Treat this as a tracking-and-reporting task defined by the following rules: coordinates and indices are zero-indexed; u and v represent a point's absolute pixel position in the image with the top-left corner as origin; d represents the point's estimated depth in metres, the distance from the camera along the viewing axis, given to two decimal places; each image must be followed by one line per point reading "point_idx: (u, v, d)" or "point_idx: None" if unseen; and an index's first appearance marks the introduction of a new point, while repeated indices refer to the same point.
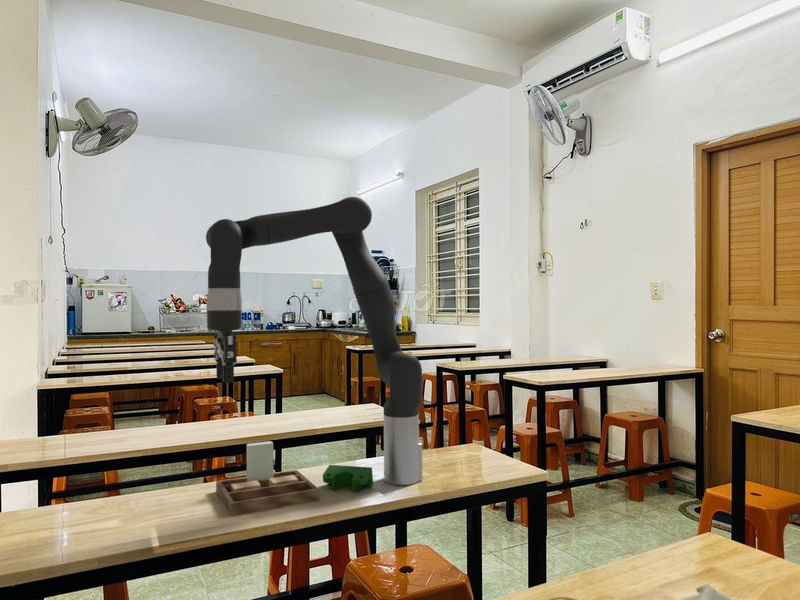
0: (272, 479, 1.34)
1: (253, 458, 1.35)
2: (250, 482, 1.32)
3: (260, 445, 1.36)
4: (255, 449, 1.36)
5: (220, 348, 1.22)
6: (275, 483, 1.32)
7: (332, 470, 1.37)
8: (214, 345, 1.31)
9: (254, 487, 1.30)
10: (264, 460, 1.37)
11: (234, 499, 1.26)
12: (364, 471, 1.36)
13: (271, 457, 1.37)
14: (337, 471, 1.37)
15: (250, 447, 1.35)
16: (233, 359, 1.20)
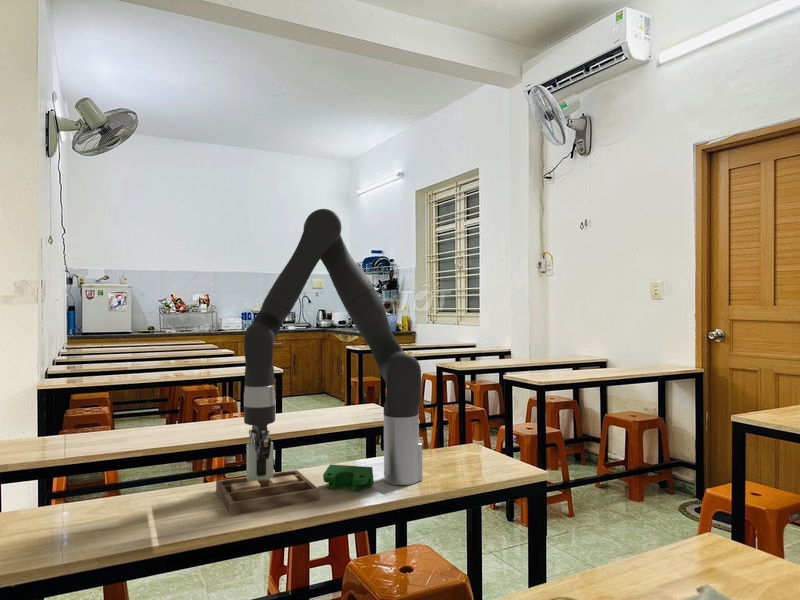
0: (272, 479, 1.34)
1: (253, 458, 1.35)
2: (250, 482, 1.32)
3: None
4: None
5: (255, 444, 1.35)
6: (275, 483, 1.32)
7: (332, 470, 1.38)
8: (250, 440, 1.41)
9: (254, 487, 1.30)
10: None
11: (234, 499, 1.26)
12: (365, 471, 1.36)
13: (271, 457, 1.37)
14: (337, 471, 1.37)
15: (250, 447, 1.35)
16: (266, 456, 1.34)
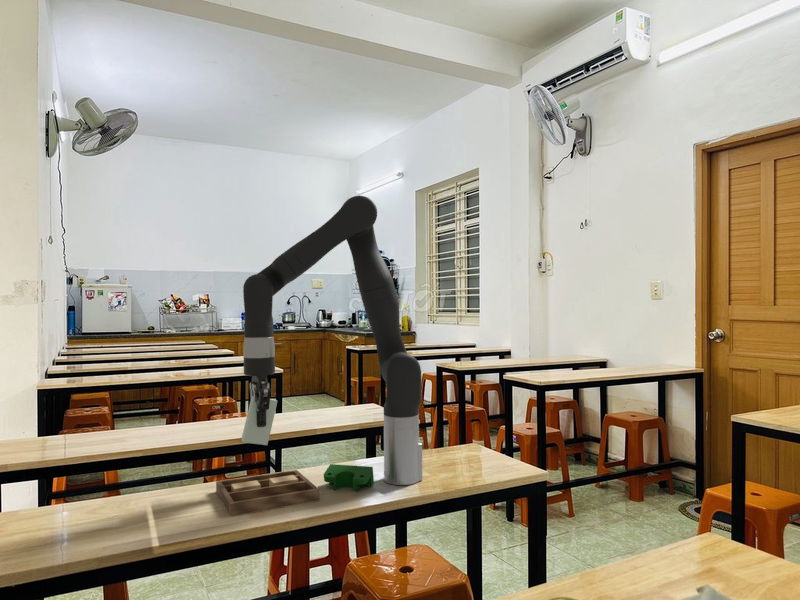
0: (272, 479, 1.34)
1: (255, 410, 1.36)
2: (250, 482, 1.32)
3: None
4: None
5: (255, 395, 1.35)
6: (275, 483, 1.32)
7: (333, 470, 1.38)
8: (250, 394, 1.41)
9: (254, 487, 1.30)
10: None
11: (234, 499, 1.26)
12: (365, 470, 1.37)
13: (272, 414, 1.38)
14: (338, 471, 1.37)
15: None
16: (266, 406, 1.34)
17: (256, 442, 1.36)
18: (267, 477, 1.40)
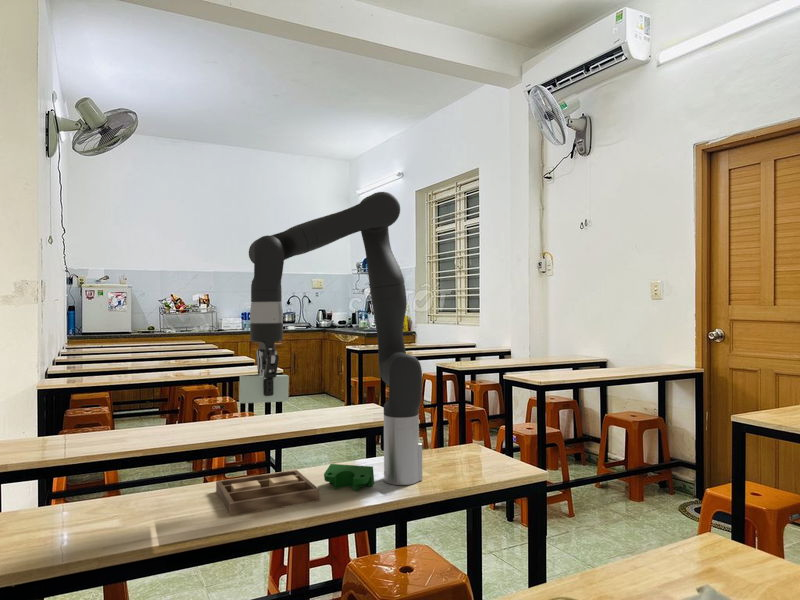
0: (272, 479, 1.34)
1: (276, 380, 1.31)
2: (250, 482, 1.32)
3: (287, 387, 1.32)
4: (285, 382, 1.32)
5: (262, 362, 1.29)
6: (275, 483, 1.32)
7: (333, 469, 1.38)
8: (257, 362, 1.35)
9: (254, 487, 1.30)
10: None
11: (234, 499, 1.26)
12: (365, 470, 1.37)
13: (273, 399, 1.31)
14: (338, 470, 1.38)
15: (287, 377, 1.32)
16: (273, 374, 1.28)
17: (242, 391, 1.27)
18: (267, 477, 1.40)
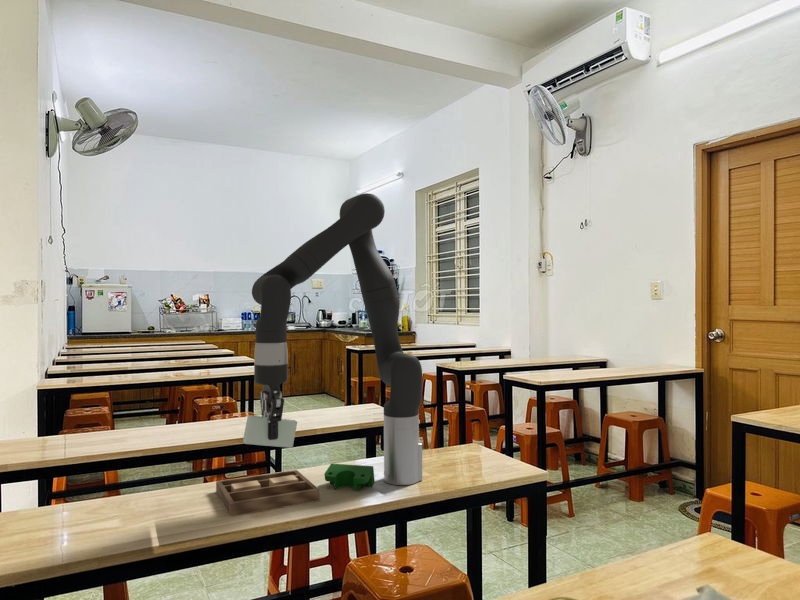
0: (272, 479, 1.34)
1: (283, 425, 1.28)
2: (250, 482, 1.32)
3: (294, 434, 1.29)
4: (292, 427, 1.28)
5: (267, 405, 1.25)
6: (275, 483, 1.32)
7: (333, 469, 1.38)
8: None
9: (254, 487, 1.30)
10: None
11: (234, 499, 1.26)
12: (366, 470, 1.37)
13: (278, 444, 1.27)
14: (339, 470, 1.38)
15: (295, 423, 1.29)
16: (278, 418, 1.24)
17: (248, 431, 1.24)
18: (267, 477, 1.40)
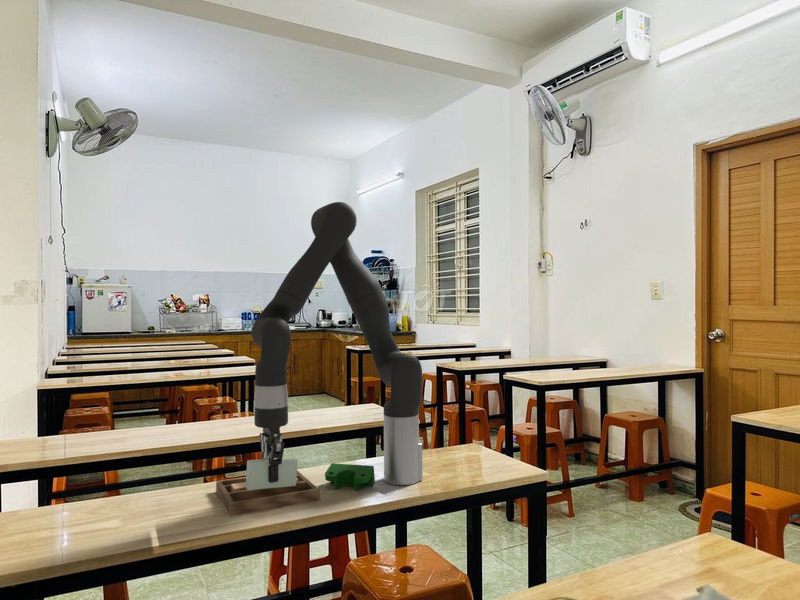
0: None
1: (284, 465, 1.27)
2: None
3: (295, 472, 1.29)
4: (293, 466, 1.28)
5: (267, 448, 1.25)
6: None
7: (334, 469, 1.39)
8: (261, 444, 1.31)
9: None
10: (279, 477, 1.27)
11: (234, 499, 1.26)
12: (366, 470, 1.37)
13: (281, 485, 1.27)
14: (339, 470, 1.38)
15: (295, 461, 1.29)
16: (278, 461, 1.24)
17: (250, 477, 1.24)
18: None
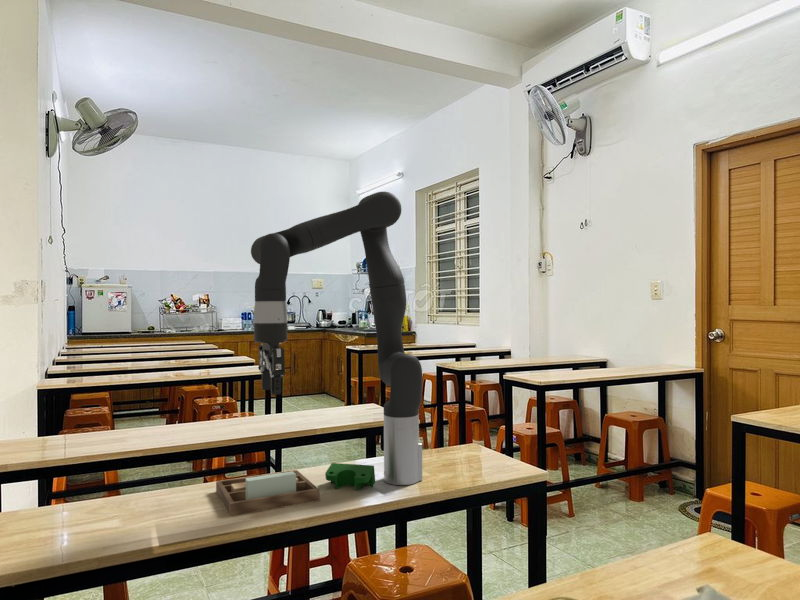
0: None
1: (283, 480, 1.27)
2: None
3: (295, 486, 1.29)
4: (292, 481, 1.28)
5: (268, 360, 1.24)
6: None
7: (334, 468, 1.39)
8: (259, 356, 1.33)
9: None
10: (279, 493, 1.27)
11: (234, 499, 1.26)
12: (367, 469, 1.38)
13: None
14: (339, 469, 1.38)
15: (294, 475, 1.28)
16: (281, 371, 1.22)
17: (249, 495, 1.24)
18: None
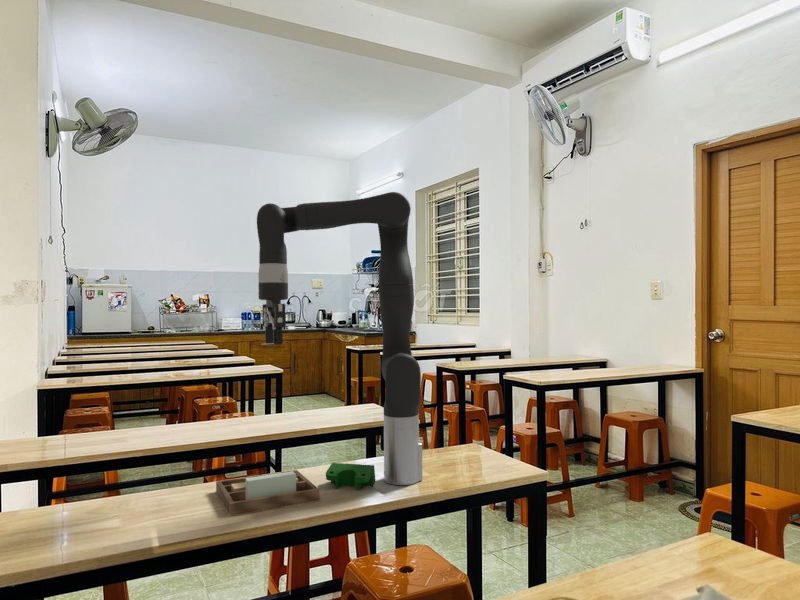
0: None
1: (283, 480, 1.27)
2: None
3: (295, 486, 1.29)
4: (292, 481, 1.28)
5: (271, 315, 1.42)
6: None
7: (334, 468, 1.39)
8: None
9: None
10: (279, 493, 1.27)
11: (234, 499, 1.26)
12: (367, 469, 1.38)
13: None
14: (340, 469, 1.39)
15: (294, 475, 1.28)
16: (283, 324, 1.39)
17: (249, 495, 1.24)
18: None
